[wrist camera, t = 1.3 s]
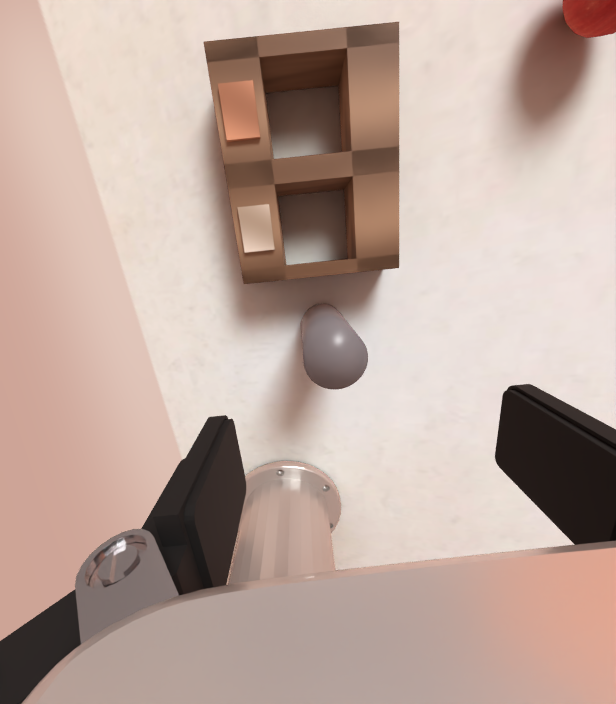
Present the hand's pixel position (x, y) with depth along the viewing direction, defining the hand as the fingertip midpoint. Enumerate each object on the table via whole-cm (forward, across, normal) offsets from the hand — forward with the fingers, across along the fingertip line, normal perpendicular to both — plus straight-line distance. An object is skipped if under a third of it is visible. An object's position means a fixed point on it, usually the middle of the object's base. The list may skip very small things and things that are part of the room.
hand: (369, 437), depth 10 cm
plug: (+18, 0, 0) cm, 18 cm away
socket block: (+18, 0, -12) cm, 22 cm away
